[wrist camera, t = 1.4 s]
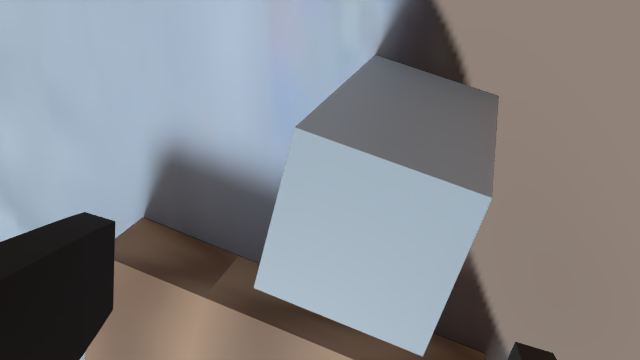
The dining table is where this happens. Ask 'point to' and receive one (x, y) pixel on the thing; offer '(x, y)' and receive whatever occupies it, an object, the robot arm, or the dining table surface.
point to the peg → (382, 201)
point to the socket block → (221, 311)
